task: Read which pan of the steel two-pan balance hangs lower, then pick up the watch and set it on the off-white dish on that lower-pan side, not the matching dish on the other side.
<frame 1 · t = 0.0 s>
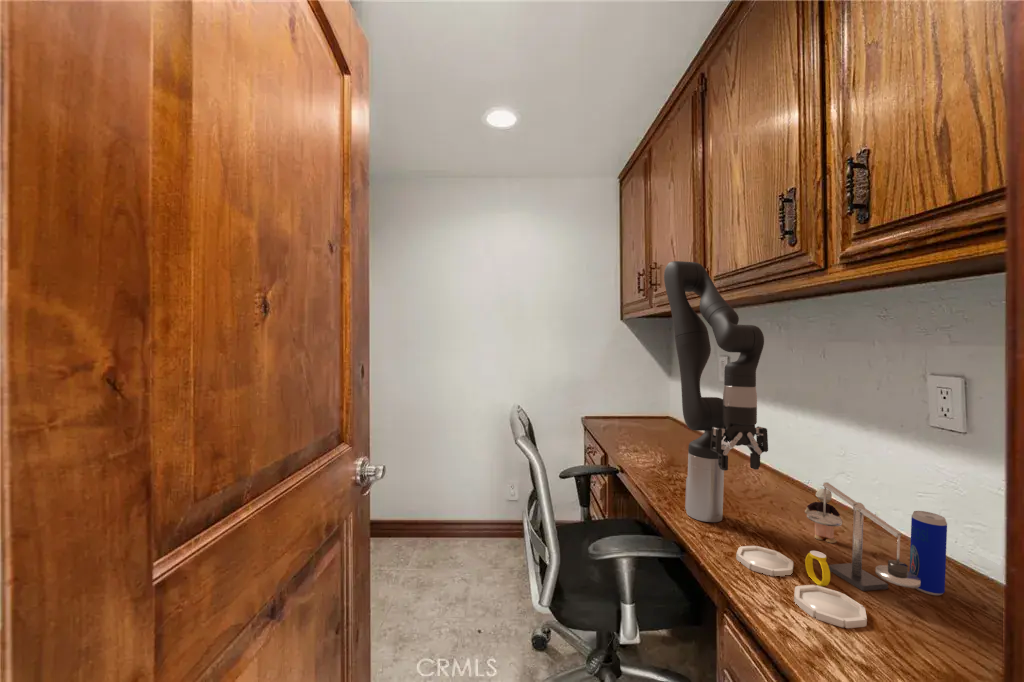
hand: (739, 469, 107), 17 cm above the table, tool pointing down, fingers open, 8 cm apart
grandmother figurine: (822, 539, 108), on the table
dish upper pan side: (764, 563, 95), on the table
balance: (856, 578, 90), on the table
watch: (816, 583, 88), on the table
beverage can: (926, 590, 87), on the table
dish lower pan side: (828, 608, 79), on the table
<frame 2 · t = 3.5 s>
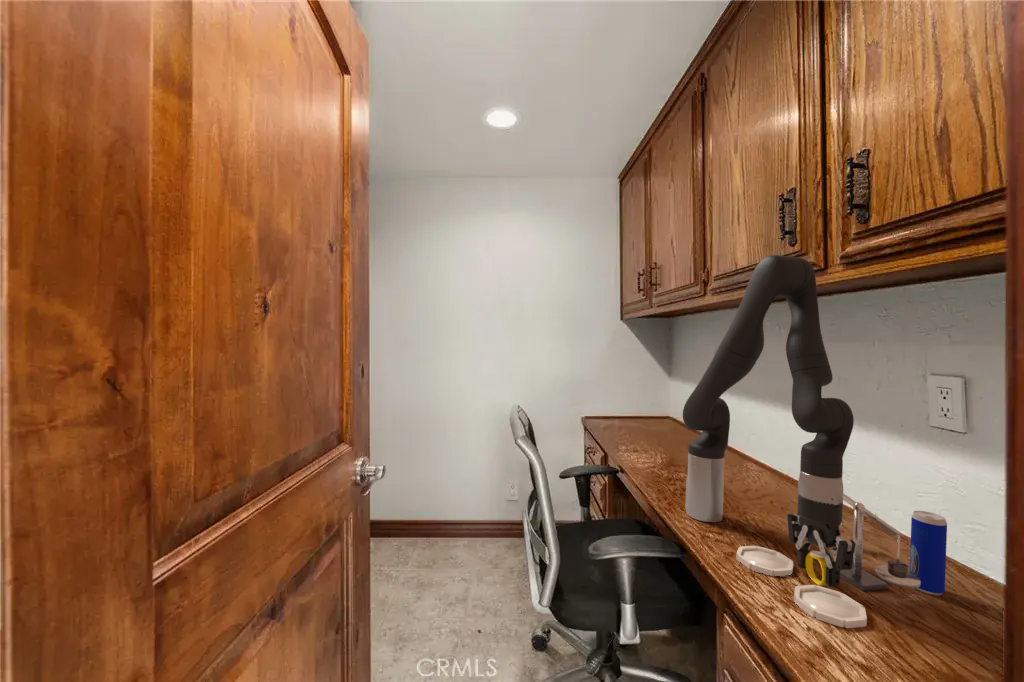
hand: (817, 576, 88), 1 cm above the table, tool pointing down, fingers closed on watch, 6 cm apart
watch: (816, 582, 88), on the table, touching gripper
everything else where it was.
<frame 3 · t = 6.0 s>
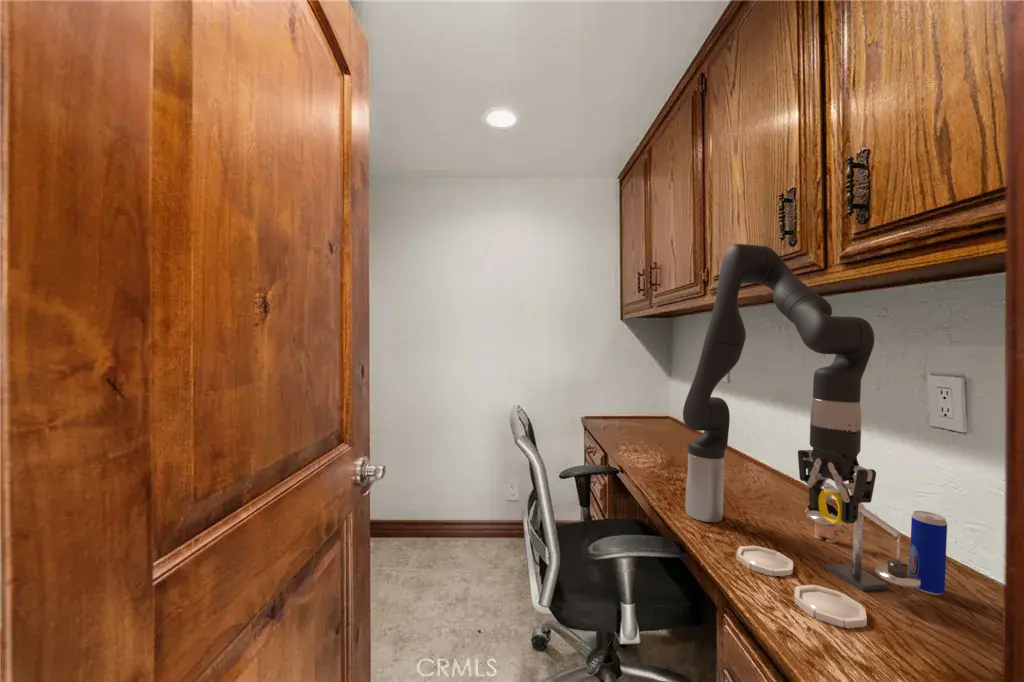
hand: (831, 514, 79), 17 cm above the table, tool pointing down, fingers closed on watch, 6 cm apart
watch: (831, 521, 79), point 16 cm above the table, touching gripper
everything else where it was.
when the fingers open (3 cm above the table, at t = 8.7 s): watch drops 1 cm, resting on dish lower pan side.
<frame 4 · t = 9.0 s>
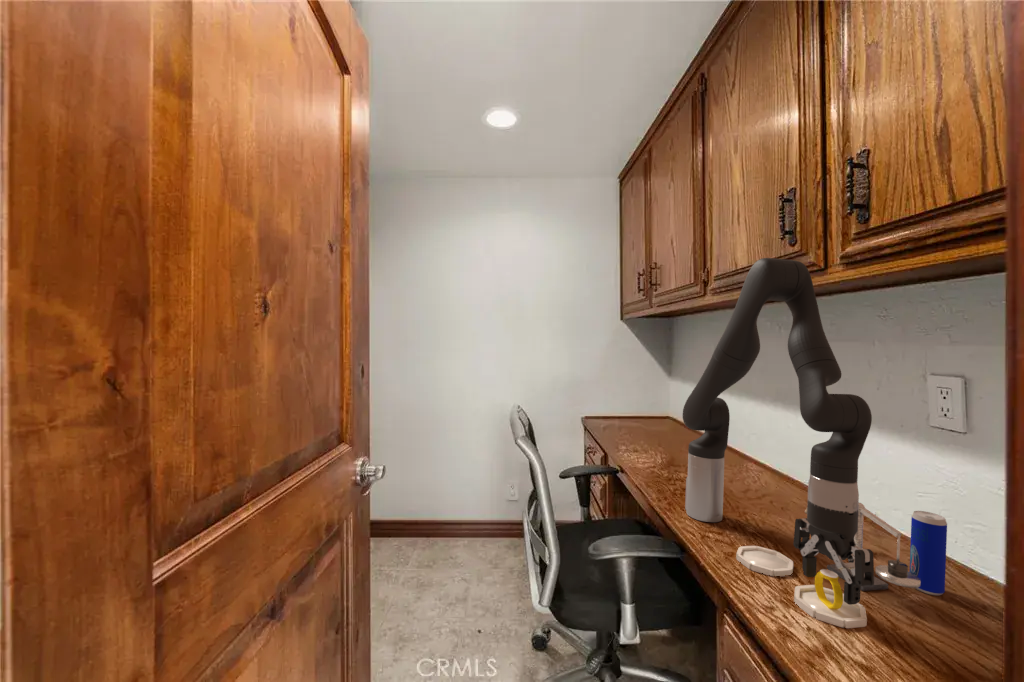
hand: (829, 589, 79), 4 cm above the table, tool pointing down, fingers open, 8 cm apart
watch: (827, 605, 80), resting on dish lower pan side
everything else where it was.
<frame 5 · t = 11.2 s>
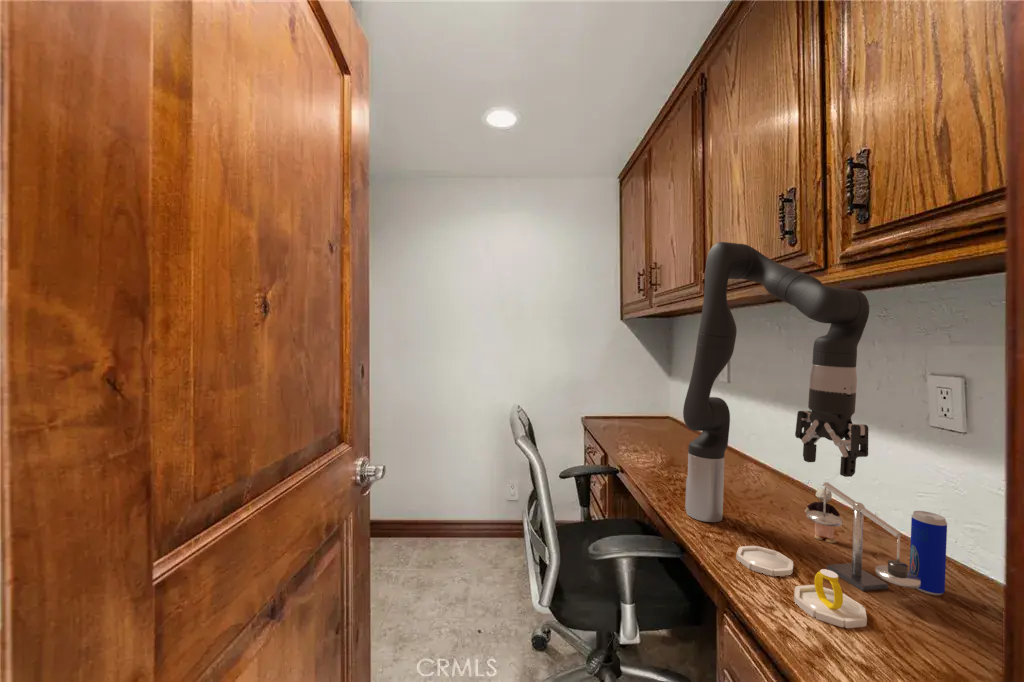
hand: (827, 468, 86), 24 cm above the table, tool pointing down, fingers open, 8 cm apart
nothing on the table moved.
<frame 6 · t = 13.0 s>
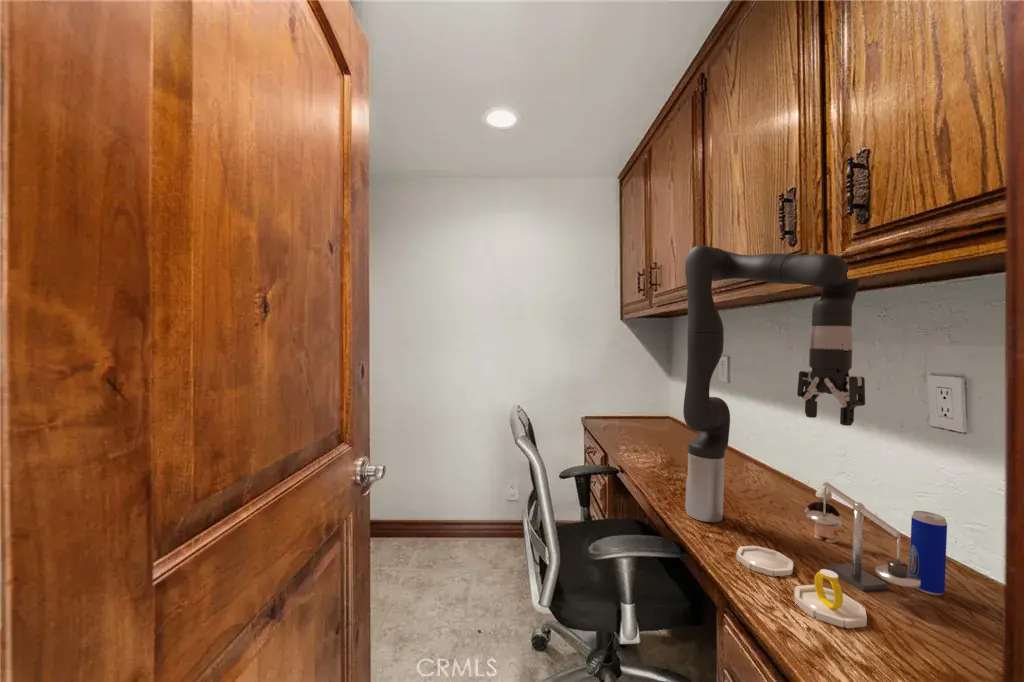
hand: (827, 421, 94), 32 cm above the table, tool pointing down, fingers open, 8 cm apart
nothing on the table moved.
at the end: watch 0.2 cm off-centre on the dish lower pan side, point 0.4 cm above the dish lower pan side's base; watch tilted 0°; the gripper is holding nothing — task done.
